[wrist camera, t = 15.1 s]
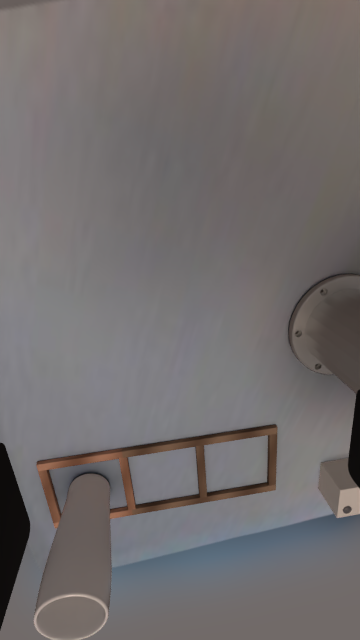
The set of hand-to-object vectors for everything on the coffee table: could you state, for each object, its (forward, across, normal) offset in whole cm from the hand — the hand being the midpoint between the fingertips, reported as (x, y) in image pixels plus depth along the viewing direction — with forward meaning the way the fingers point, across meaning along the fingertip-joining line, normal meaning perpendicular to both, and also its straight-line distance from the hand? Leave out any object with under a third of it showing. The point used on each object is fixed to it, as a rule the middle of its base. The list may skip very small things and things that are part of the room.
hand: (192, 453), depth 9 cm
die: (+28, -24, +34) cm, 50 cm away
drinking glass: (+28, +11, +29) cm, 42 cm away
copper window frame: (+28, +1, +29) cm, 41 cm away
